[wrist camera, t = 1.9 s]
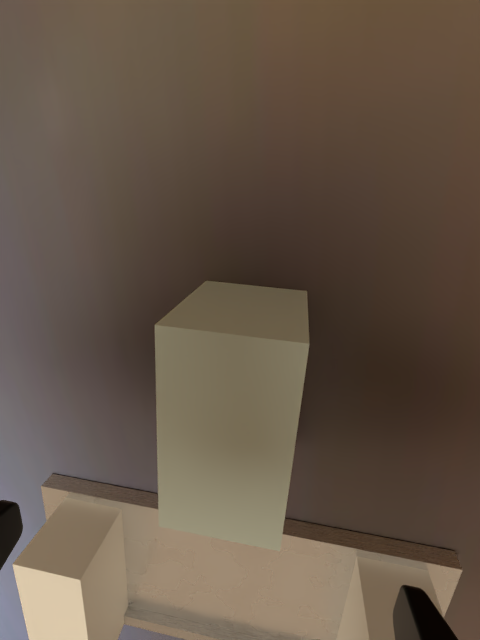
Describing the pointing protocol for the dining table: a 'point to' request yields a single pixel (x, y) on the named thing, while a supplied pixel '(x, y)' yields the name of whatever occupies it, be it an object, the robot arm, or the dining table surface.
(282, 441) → the block
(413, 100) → the dining table surface
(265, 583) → the rail plate
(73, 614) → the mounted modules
